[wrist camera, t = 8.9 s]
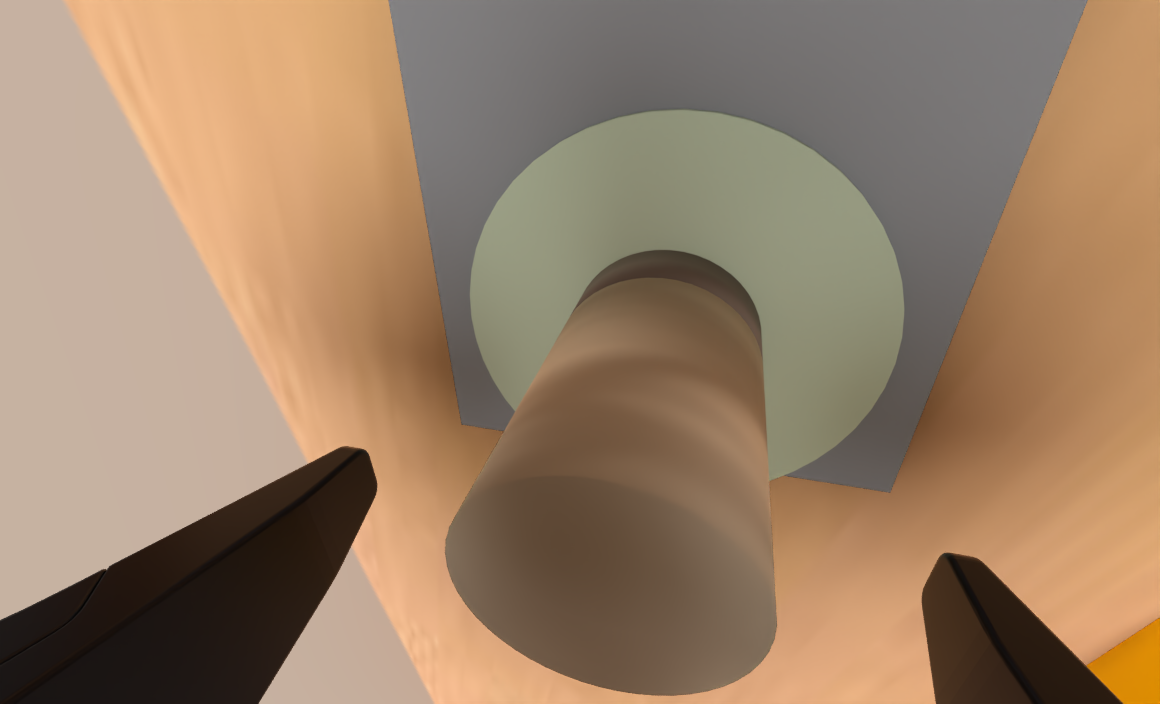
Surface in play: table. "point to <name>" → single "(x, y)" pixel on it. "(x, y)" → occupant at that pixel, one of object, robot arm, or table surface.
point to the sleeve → (633, 490)
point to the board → (729, 183)
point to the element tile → (1133, 667)
